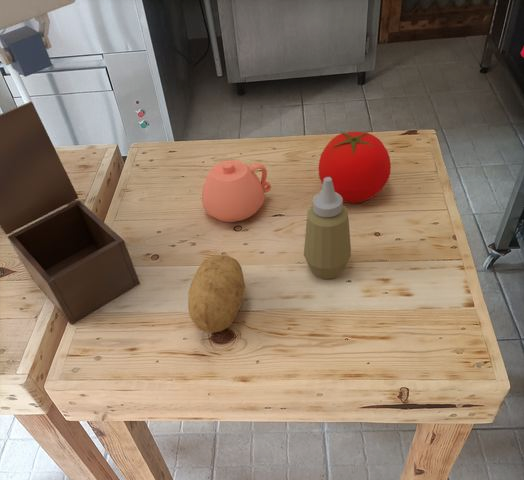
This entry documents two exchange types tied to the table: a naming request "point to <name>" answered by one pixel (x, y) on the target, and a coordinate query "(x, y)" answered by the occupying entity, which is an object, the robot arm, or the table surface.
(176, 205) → the table surface
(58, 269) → the chest
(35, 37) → the block
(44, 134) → the lid
